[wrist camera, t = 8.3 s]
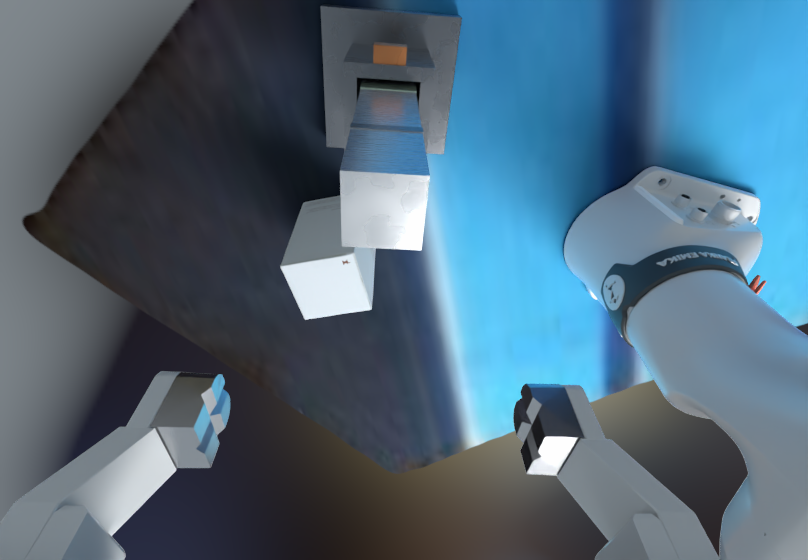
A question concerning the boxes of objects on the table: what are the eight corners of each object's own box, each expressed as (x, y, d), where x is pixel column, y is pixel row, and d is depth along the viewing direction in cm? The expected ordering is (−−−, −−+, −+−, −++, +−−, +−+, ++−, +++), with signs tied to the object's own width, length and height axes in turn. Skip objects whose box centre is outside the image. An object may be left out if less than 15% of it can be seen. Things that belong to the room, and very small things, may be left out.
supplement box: (301, 200, 48) (277, 264, 38) (363, 190, 47) (355, 251, 37) (320, 252, 52) (302, 321, 42) (377, 243, 52) (373, 311, 42)
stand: (458, 15, 37) (476, 30, 29) (441, 147, 44) (452, 188, 36) (323, 4, 36) (304, 16, 28) (329, 140, 44) (314, 180, 36)
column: (414, 81, 33) (431, 175, 18) (410, 133, 35) (422, 251, 21) (362, 77, 32) (338, 169, 18) (362, 130, 35) (340, 247, 21)
